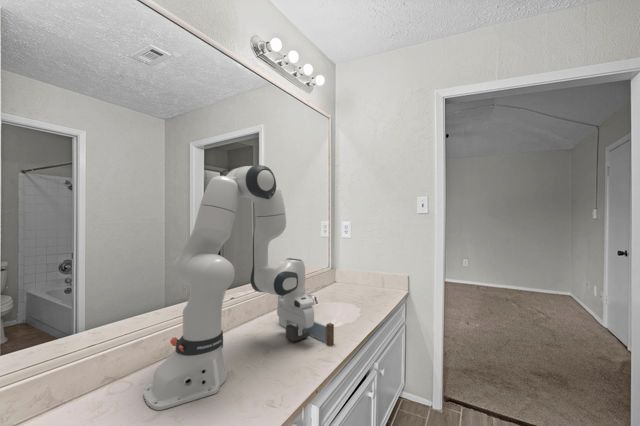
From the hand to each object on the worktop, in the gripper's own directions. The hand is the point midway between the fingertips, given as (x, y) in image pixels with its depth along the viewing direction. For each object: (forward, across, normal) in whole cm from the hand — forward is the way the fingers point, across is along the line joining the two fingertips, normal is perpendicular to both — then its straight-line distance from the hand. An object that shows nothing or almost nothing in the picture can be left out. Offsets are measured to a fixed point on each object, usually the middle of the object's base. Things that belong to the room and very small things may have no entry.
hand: (294, 332), depth 119 cm
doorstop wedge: (+2, 0, +2) cm, 3 cm away
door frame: (+3, +4, +8) cm, 9 cm away
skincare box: (+3, -15, +8) cm, 17 cm away
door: (+2, +3, +8) cm, 9 cm away
